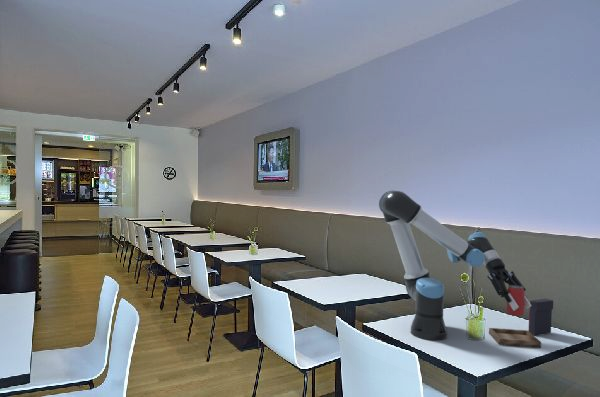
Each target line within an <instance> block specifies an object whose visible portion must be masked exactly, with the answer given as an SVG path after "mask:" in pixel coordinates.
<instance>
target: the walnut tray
mask: <svg viewBox="0 0 600 397" xmlns="http://www.w3.org/2000/svg"><path fill="white" fill-rule="evenodd" d="M528 330H529V329H525V330H524V329H511V328H510V329H509V328H501V327H500V328H498V327H488V334H489V336H490V337H491V338H492V339H493V340H494V341H495V342H496V343H497V344H498V346H506V347H507V346H509V347H520V348H521V347H523V348H534V349H542V341H541V340H540V339H538V338H537V336H534V335H532V334H531V333H530V332H529V331H528Z"/></svg>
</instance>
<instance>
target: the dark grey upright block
mask: <svg viewBox="0 0 600 397" xmlns="http://www.w3.org/2000/svg"><path fill="white" fill-rule="evenodd" d="M529 302H530V304H531V305H532V306H531V307H529V311H528V329H527V330H528V331H529V332H530V333H531V334H532V335H534V336H535V337H537V336H542V335H543V336H544V335H546V334H547V335H548V334H551V332H552V311H553V309H554V300H552V299H549V298H541V299H533V300H530V301H529Z"/></svg>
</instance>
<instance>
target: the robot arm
mask: <svg viewBox="0 0 600 397" xmlns="http://www.w3.org/2000/svg"><path fill="white" fill-rule="evenodd" d="M378 208H379V210H380V212H382V215H383V217H384V220H385V223H386V224H388V225H389V226H390V229H391V231H392V234H393V237H394V240H395V241H394V242H395V244H396V247H397V251H398V253H399V256H400V259H401V262H402V265H403V268H404V271H405V273H404V275H403V279H404V282H405V290H406V292H407V295H408V296H409V297H410V298H412V300H414V301H415V315H414V317H413V319H412V323H411V325H410V334H411V335H413V336H414V337H417V338H420V339H423V340H424V339H425V340H430V341H438V340H444V339H446V338H447V335H448V331H447V327H446V323H445V321H444V306H445V305H444V301H445V285H444V284H443V282H442V281H441V280H439V279H436V278H432V277H431V275H430V272H429V269H427V268H425V267H424V264H423V262H422V258H421V254H420V252H419V249H418V246H417V242H416V239H415V236H414V234H413V230H412V228H411V225H412V226H414V227H415V228H417V229H418V230H419V231H421V232H422V233H424V234H425V235H426V236H428V237H430V239H432V240H434V241H435V242H436V243H438V244H439V245H440V246H442V248H443V247H444V248H445V249H446V253H447V257H448V259H449V260H450V262H451V263H452V264H457V263H460V262H462V263H465V264H467V265H469V266H470V267H474V268H477V267H481V266H482V265H484V267H485V268H486V270H487V272H488V273H489V274H488V275H487V278H488V280H489V281H490V282H491V284H492V286H493V289H494V290H495V291H496V293H497V295H498V296H499V297H501V298H504V299H505V300H506V303H507V302H508V303H509V304H510V306H511V308H512V309H513V311H515V310H516V309H517V308H519V307H518V305H517V303H516V302H515V300H514V299H513V297H512V296H511V294H510V293H509V294H508V292H507V290H508V288H507V286H506V284H507V285H508V286H509V285H519V286H522V287H523V289H524V292H526V288H525V287H524V285H523V284H522V283H521V281H520V280H519V279H518V277H517V275H516V274H515V272H514V271H513V270H512V271H508V270H507V269H506V265H505V263H504V261H503V260H502V258H501V257H500V255H499V254H498V253H497V250H495V248H494V247H493V245H492V244H491V242H490V240H489V238H488V237H487V236H486V235H485V234H484V233H483V232H481V231H477V232H474V233H472V234H470V235H469V237H468V239H467V241H466V240H464V239H463V238H462V237H460V236H459V235H457V233H454V232H453V231H452V230H451V229H449V228H448V227H447V226H445V225H443V223H441V222H440V221H438V220H437V219H436V218H434V217H433V216H432V215H430V214H428V213H427V212H426V211H424V210H422V206H421V205H420V204H419V203H417V202H416V201H415V200H414V199H413V198H411V197H410V196H409V195H407V193H405V192H403V191H400V190H388V191H386V192H384V193H382V195H381V196H380V198H379V199H378ZM531 306H532V305H531V304H530V301H529V299H528V297H527V296H526V294H524V309H525V310H528V309H530V307H531Z"/></svg>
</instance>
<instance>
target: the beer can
mask: <svg viewBox="0 0 600 397" xmlns="http://www.w3.org/2000/svg"><path fill="white" fill-rule="evenodd" d="M507 292H508V294H509V293H510V294H511V296H512V297H513V299H514V300H515V302H516V303H517V305H518V307H519V308H517V309H516V310H515V311H513V309H512V308H511V306H510V304H509V303H508V302H507V301H506V310H505V312H506V314H508V315H510V316H512V317H513V316H514V317H523V316H524V313H525V306H524V294H525V292H526V291H524V289H523V287H522V286H519V285H509V284H508V287H507ZM525 295H526V294H525Z"/></svg>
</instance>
